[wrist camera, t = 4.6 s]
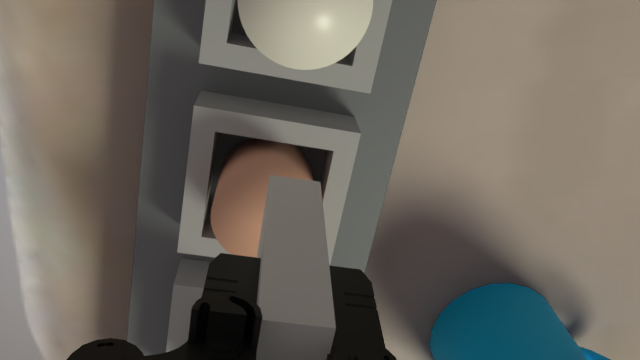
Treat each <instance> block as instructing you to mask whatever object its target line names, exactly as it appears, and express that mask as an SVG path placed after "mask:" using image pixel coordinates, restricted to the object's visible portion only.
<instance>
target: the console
mask: <svg viewBox="0 0 640 360" xmlns="http://www.w3.org/2000/svg"><path fill="white" fill-rule="evenodd" d="M436 1H437V0H373V10H372V16H371V19H370V23H369V26H368V28H367V30H366V33H365V34H364V36H363V38H362V39H361V41H360V42H359V43H358V45H357V46H356V47H355V48H354V49H353V50H352V51H351V52H350V53H349V54H348V55H347V56H345V57H344V58H343V59H341V60H339V61H338V62H336V63H334V64H331V65H329V66H326V67H323V68H319V69H313V70H299V69H292V68H288V67H285V66H282V65H280V64H277V63H275V62H274V61H272V60H270V59H269V58H267V57H266V56H265V55H263V54H262V53H261V52H260V51H259V50H258V49H257V48H256V47H255V46H254V45H253V43H252V42H251V41H250V39H249V38H248V36H247V34H246V32H245V30H244V28H243V26H242V23H241V20H240V16H239V11H238V1H237V0H154V7H153V19H152V32H151V44H150V57H149V70H148V82H147V95H146V107H145V120H144V132H143V145H142V157H141V170H140V182H139V195H138V207H137V220H136V232H135V245H134V258H133V270H132V283H131V295H130V308H129V320H128V333H127V341H128V342H130V343H132V344H134V345H136V346H137V347H138V348H139V349H140V350H141V351H142V353H143V354H144V356H148V355H155V354H161V353H165V352H169V351H172V350H174V349H177V348H179V347H180V346H182V345H183V344H184V343H186V342H187V341H188V337H189V327H190V318H191V309H192V307H193V305H194V304H195V302H196V301H197V300H198V299H200V298H201V297H202V293H203V289H204V284H205V280H206V276H207V272H208V267H209V263H210V262H212V261H213V260H214V259H215V258H216V257H217V256H218V255H219V254H220V253H225V254H230V253H229V252H227V251H226V250H225V249H224V248H223V247H222V246H221V245H220V243H219V242H218V240H217V239H216V237H215V235H214V232H213V230H212V226H211V209H212V204H213V200H214V196H215V192H216V188H217V184H218V180H219V176H220V172H221V168H222V165H223V163H224V161H225V159H226V157H227V156H228V154H229V153H230V152H231V151H232V150H233V149H234V148H235V147H236V146H238V145H239V144H241V143H242V142H244V141H247V140H249V139H252V138H257V139H263V140H269V141H275V142H281V143H288V144H293V145H295V146H296V147H297V148H298V149H300V150H301V151H302V153H303V154H304V155H305V156H306V158H307V159H308V161H309V163H310V166H311V169H312V174H313V181H317V182H321V192H322V201H323V210H324V220H325V229H326V239H327V248H328V258H329V265H330V266H338V267H346V268H353V269H361V270H362V272H363V273H365V269H366V265H367V262H368V258H369V254H370V250H371V247H372V243H373V239H374V235H375V231H376V228H377V224H378V220H379V216H380V213H381V209H382V205H383V201H384V197H385V194H386V190H387V186H388V182H389V178H390V175H391V171H392V167H393V163H394V160H395V156H396V152H397V148H398V144H399V141H400V137H401V133H402V129H403V126H404V122H405V118H406V114H407V110H408V107H409V103H410V99H411V95H412V91H413V88H414V84H415V80H416V76H417V73H418V69H419V65H420V61H421V57H422V54H423V50H424V46H425V42H426V39H427V35H428V31H429V27H430V23H431V20H432V16H433V12H434V8H435V5H436Z"/></svg>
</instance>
